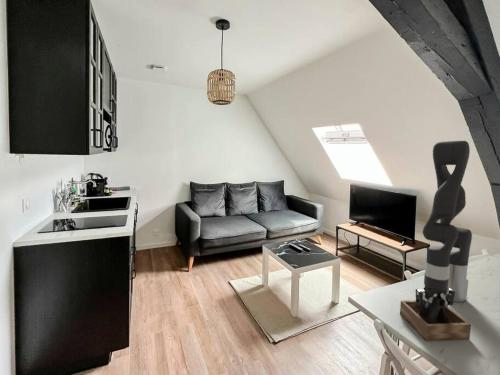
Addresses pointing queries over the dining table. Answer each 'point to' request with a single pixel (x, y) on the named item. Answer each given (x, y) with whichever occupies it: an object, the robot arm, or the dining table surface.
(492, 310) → the dining table surface
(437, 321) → the door stopper
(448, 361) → the dining table surface
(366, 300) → the dining table surface
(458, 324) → the walnut box
